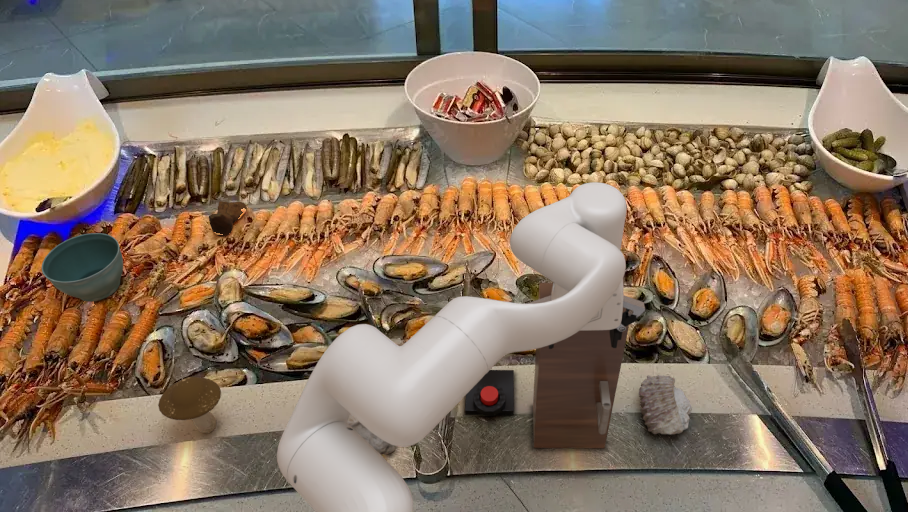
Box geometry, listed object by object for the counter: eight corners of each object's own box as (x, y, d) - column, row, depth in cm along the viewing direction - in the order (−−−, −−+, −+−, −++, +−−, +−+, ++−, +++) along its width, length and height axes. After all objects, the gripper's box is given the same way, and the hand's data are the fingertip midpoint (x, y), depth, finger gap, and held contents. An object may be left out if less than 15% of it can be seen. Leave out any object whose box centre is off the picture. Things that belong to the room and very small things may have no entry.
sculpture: (197, 209, 166) (221, 174, 178) (196, 238, 173) (220, 202, 184) (229, 218, 167) (252, 182, 179) (228, 246, 174) (249, 210, 185)
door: (607, 475, 127) (633, 355, 101) (534, 475, 127) (542, 355, 101) (604, 443, 132) (628, 321, 106) (533, 443, 132) (540, 321, 106)
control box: (513, 420, 136) (513, 411, 133) (464, 420, 135) (464, 411, 133) (513, 374, 144) (513, 364, 142) (467, 374, 144) (466, 364, 141)
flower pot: (150, 274, 165) (134, 242, 158) (98, 321, 154) (78, 289, 146) (100, 257, 169) (82, 225, 162) (46, 302, 158) (24, 270, 151)
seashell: (699, 440, 129) (678, 407, 125) (654, 453, 133) (633, 421, 128) (689, 386, 142) (670, 354, 138) (649, 399, 145) (629, 368, 141)
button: (498, 406, 135) (498, 401, 133) (480, 406, 134) (480, 401, 133) (498, 390, 137) (498, 385, 136) (481, 390, 137) (480, 385, 136)
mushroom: (184, 409, 137) (159, 365, 127) (241, 406, 137) (220, 363, 127) (170, 450, 130) (142, 407, 120) (229, 447, 131) (206, 405, 121)
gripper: (527, 285, 88) (526, 362, 99) (658, 284, 88) (641, 360, 100) (526, 245, 93) (524, 322, 105) (648, 244, 93) (634, 321, 105)
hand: (581, 341), depth 102 cm, fingers open, 9 cm apart
